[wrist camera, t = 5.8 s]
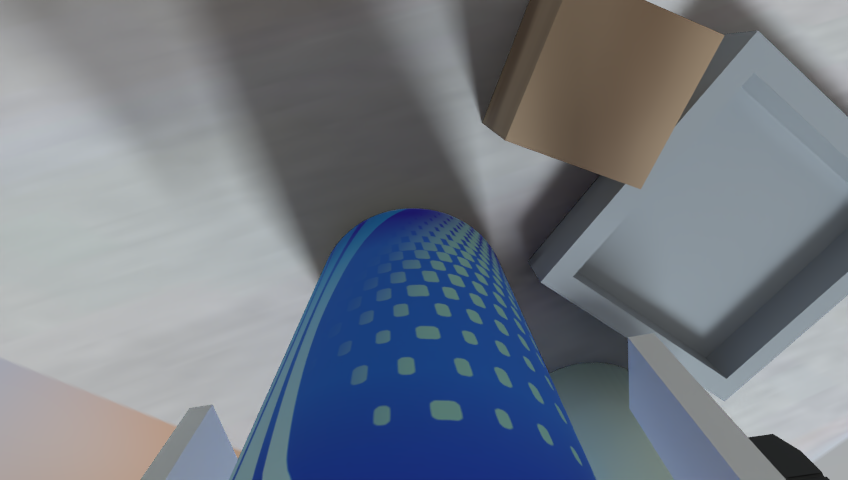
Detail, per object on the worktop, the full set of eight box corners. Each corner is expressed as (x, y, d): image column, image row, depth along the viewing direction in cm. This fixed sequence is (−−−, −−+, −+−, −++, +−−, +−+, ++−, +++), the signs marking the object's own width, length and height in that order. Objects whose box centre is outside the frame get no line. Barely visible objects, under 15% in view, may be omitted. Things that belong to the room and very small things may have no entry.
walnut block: (482, 122, 18) (505, 140, 14) (529, -3, 17) (575, -30, 12) (585, 160, 19) (640, 189, 15) (641, 44, 17) (724, 35, 13)
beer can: (294, 297, 21) (17, 829, 6) (393, 162, 19) (323, 505, 4) (428, 378, 23) (457, 927, 8) (534, 265, 21) (832, 748, 6)
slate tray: (528, 261, 21) (540, 282, 19) (717, 35, 17) (758, 30, 15) (697, 372, 24) (724, 401, 21) (890, 196, 20) (945, 210, 18)
